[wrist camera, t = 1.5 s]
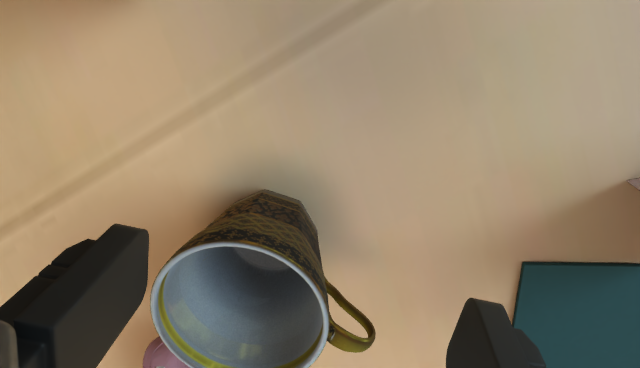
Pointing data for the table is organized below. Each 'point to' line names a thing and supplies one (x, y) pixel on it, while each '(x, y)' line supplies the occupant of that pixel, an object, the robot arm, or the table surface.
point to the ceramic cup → (251, 292)
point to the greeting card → (635, 183)
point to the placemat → (581, 313)
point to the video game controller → (161, 356)
